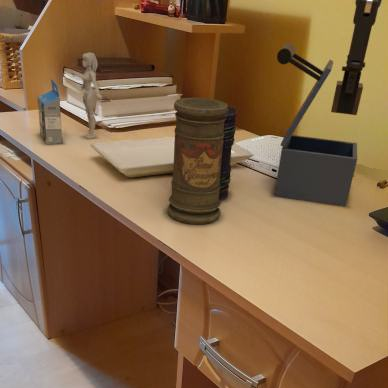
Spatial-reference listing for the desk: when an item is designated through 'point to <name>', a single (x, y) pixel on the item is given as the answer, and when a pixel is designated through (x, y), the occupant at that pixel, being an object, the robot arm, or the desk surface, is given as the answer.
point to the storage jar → (227, 152)
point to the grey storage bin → (316, 170)
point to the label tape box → (50, 116)
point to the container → (197, 160)
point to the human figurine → (90, 90)
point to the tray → (150, 155)
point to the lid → (287, 56)
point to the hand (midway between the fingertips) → (344, 109)
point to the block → (337, 96)
